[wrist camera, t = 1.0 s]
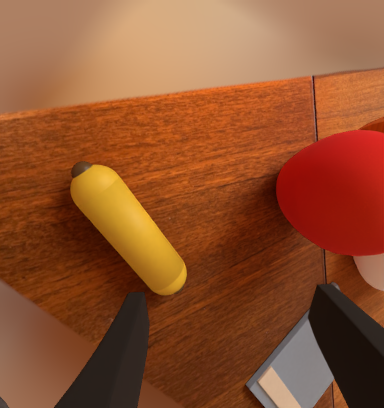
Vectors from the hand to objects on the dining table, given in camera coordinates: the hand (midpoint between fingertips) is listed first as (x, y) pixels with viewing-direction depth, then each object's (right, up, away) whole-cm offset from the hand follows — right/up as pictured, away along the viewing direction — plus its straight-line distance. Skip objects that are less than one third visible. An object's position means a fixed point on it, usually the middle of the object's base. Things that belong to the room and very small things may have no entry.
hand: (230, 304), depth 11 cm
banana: (-7, +2, +11) cm, 13 cm away
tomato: (+10, +6, +19) cm, 22 cm away
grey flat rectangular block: (+15, -18, +25) cm, 34 cm away
